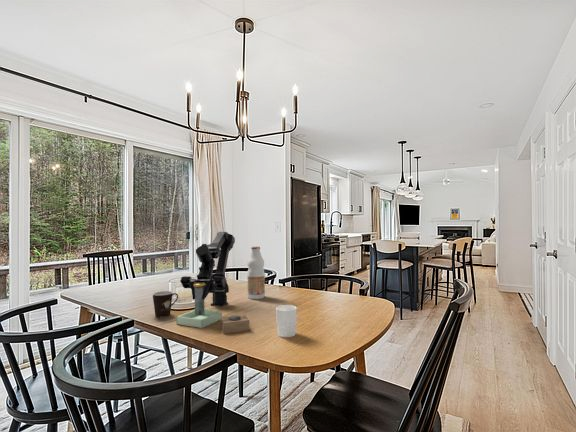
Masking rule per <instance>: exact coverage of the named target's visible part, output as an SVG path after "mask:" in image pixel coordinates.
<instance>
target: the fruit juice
mask: <svg viewBox="0 0 576 432" xmlns="http://www.w3.org/2000/svg"><path fill="white" fill-rule="evenodd" d="M250 249H251V252H250V256H249V258H248V260H247V268H248V270H247V298H248V299H250V300H260V299H264V298H265V294H266V289H265V287H266V286H265V285H266V283H265V280H266V279H265V269H264V266H265V261H264V258H263V256H262V253H261V247H260V246H251V248H250Z"/></svg>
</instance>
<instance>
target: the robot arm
mask: <svg viewBox="0 0 576 432" xmlns="http://www.w3.org/2000/svg"><path fill="white" fill-rule="evenodd" d="M235 242H236V237H234V235H233V234H230V233H228V232H227V231H218V232H217V233H216V236H215V237H214V239H213V240H212V242H211V243H209V244H207V243H202V244H201V245H200V246H198V247H197V248H196V249H195V253H196V256H197V259H198V261H199V262H200V263H201V265H200V267H198V270H199V271H198V274H196V278H197V279H196V278H193V277H192V276H188V275H187V276H186V275H185V276H181V278H180V281H179V282H180V284H181V285H182V288H184V289H191V295H192V300H193V301H195V290H194V286H193V284H194V283H199V282H203V283H205V286H204V294H203V300H204V301H205V300H206V298H207V296H208V295H209V294H212V303H210V306H216V307H217V306H218V307H222V306H225V305H227V304H229V302H228V296H227V293H229V292H230V286H229V284H228V280H227V278H226V275H225V274H226V269H227V263H228V259H229V258H228V257H229V255H230V254H229V253H230V251H231V250H232V249H233V248H234V245H235ZM215 259H216V260H217V259H218V260H217V265H216V264H215V263H216V262H215ZM215 267H216V269H215V272H214V268H215ZM213 272H214V273H213Z"/></svg>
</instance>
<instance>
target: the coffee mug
mask: <svg viewBox="0 0 576 432" xmlns="http://www.w3.org/2000/svg"><path fill="white" fill-rule="evenodd" d="M174 295H175V296H176V299H175V300H174V301H173V296H174ZM178 299H179V294H178V293H177V292H176V293H175V292H174V293H173V291H171V290H162V291H156V292H153V293H152V300H153V309H154V314H155V315H154V317H156V318H165V317H169V316H171V313H172V312H171V311H172V306H173V305H175V304H176V302H177V301H178Z"/></svg>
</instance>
